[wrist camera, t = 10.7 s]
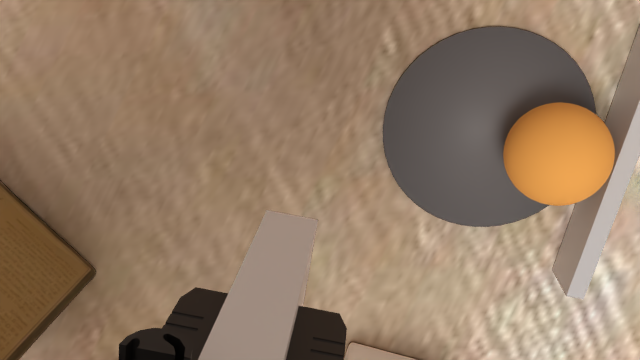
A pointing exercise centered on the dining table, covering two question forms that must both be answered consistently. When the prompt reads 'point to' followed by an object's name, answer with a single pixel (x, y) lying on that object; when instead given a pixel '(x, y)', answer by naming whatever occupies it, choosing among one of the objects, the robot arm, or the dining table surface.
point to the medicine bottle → (370, 353)
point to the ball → (559, 154)
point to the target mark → (473, 120)
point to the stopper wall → (603, 187)
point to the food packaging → (33, 276)
